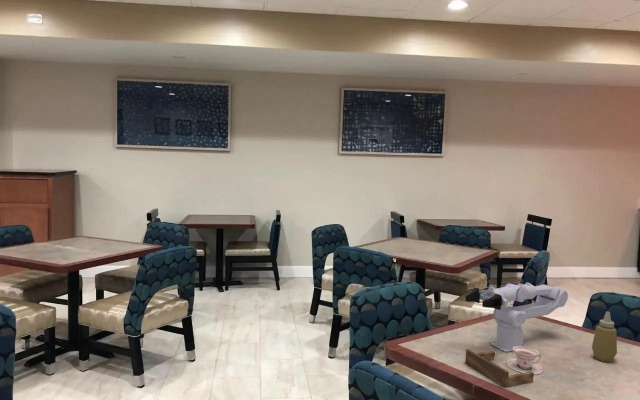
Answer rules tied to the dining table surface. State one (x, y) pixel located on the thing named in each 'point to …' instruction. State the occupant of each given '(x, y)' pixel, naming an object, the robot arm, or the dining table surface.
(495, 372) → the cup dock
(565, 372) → the dining table surface
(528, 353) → the teacup
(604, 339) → the squeeze bottle
